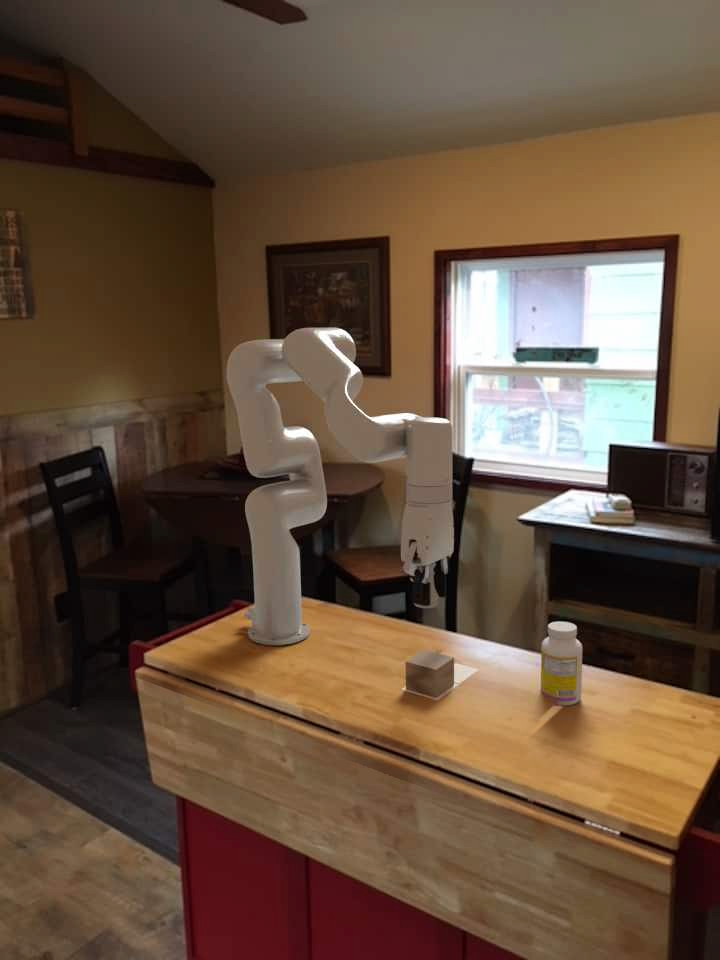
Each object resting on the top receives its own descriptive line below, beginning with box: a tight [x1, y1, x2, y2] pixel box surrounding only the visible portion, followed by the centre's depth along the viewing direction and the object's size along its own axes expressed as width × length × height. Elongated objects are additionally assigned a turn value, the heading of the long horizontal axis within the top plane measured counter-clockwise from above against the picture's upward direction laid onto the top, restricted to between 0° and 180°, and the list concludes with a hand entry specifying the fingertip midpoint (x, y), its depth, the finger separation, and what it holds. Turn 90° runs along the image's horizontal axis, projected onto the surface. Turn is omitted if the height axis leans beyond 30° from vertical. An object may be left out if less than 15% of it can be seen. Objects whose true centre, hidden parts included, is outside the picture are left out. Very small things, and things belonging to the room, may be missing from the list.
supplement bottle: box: [540, 621, 583, 707], centre depth 135 cm, size 7×7×13 cm
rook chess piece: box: [414, 559, 440, 609], centre depth 135 cm, size 4×4×8 cm
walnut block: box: [405, 649, 455, 698], centre depth 138 cm, size 6×6×5 cm
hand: (429, 598), depth 135 cm, fingers closed on rook chess piece, 4 cm apart
